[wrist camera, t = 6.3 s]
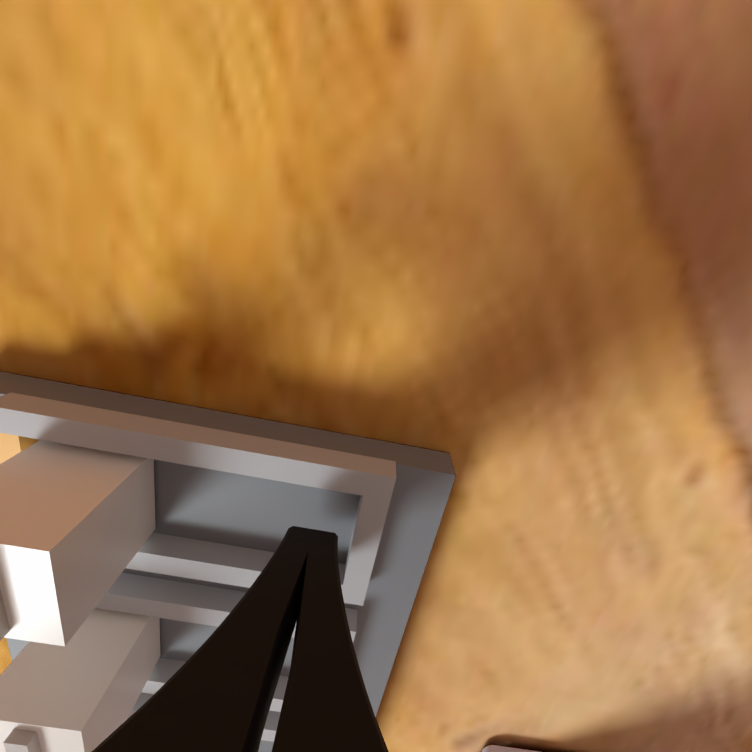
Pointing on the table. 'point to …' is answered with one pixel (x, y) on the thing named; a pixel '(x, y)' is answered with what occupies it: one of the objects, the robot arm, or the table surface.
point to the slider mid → (77, 684)
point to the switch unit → (247, 515)
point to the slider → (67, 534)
